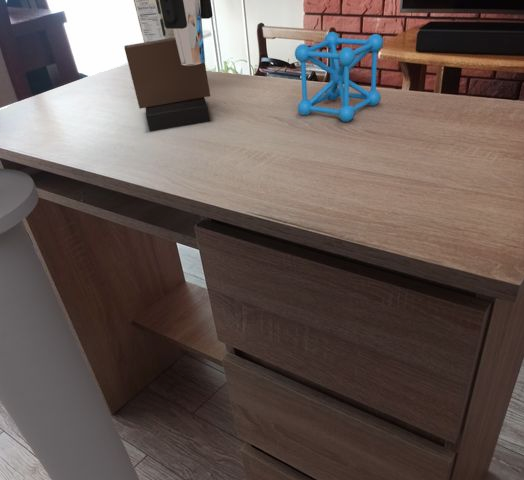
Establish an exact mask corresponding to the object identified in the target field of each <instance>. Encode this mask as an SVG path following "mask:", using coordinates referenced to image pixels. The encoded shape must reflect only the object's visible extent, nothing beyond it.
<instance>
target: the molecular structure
mask: <svg viewBox="0 0 524 480" xmlns="http://www.w3.org/2000/svg"><path fill="white" fill-rule="evenodd" d="M383 44H384V40H383V37H382V35H380V34H379V33H374V34H372V35H370V36H369V37H368V38H367V39H359V38H358V39H357V38H343V37H339V34H338V33H337V32H335V31H330V32H328V33H326V35H325V37H324V39H323V41H321V42H319V43H316V44H314V45H312V46H309V45H307V44H305V43H301V44H299V45H298V46H296V48H295V50H294V57H295V59H296V60H297V62H299V63H300V76H301V77H300V78H301V79H300V80H301V97H302V100H301V101H299V103H298V105H297V111H298V114H300V115H301V116H304V117H305V116H308V115H310V114H311V113H312V112H314V113H323V114H327V115H335V116H338V118H339V119H340V121H341V122H344V123H349V122H351V121H352V120H353V119H354V116H355V112H357V111H358V110H360V109H362V108H363V107H365V106H367V105H368V106H370V107H376V106H377V105H378V104H379V103H380V101H381V98H382V97H381V96H382V95H381V93H380V92H379V90H377V66H378V51H380V50H381V49H382V48H383ZM339 45H353V46H354V45H355V46H356V45H357V46H360V47H357V48H355V49H353V48H351V47H349V46H346V47H343V48H341V49H340V50H339V52H337V47H338V46H339ZM324 47H326V48H327V49H329V51H318V50H320V49H322V48H324ZM370 52H371V54H372V55H371V77H370V90H369V91H368V90H366V89H365V88H363V87H361V86H360V85H359V84H357V83H355V82H354V81H352V80H350V70H352V69H353V68H354V67H355V66H356V65H357V64H358V63H359V62H360V61H361V60H362V59H363V58H364V57H366V56H367V55H368V54H369V53H370ZM318 58H319V59H321V58H323V59H329V65H327V64H325V63H324V62H322V61H321V60H319V59H318ZM307 61H309V62H310V63H312V64H314V65H315V66H317V68H320V69H322V70H323V71H325V72H326V73H328V74H329V81H328V82H327V83H326V84H325V85H324V86H323V87H322V88H321V89H320V90H319V91H317V93H315V95H314V96H312V97H311V98H310V99H308V89H307V88H308V87H307V65H306V62H307ZM350 88H351V89H353V90H355V91H356V92H358V93H356V92H350ZM338 98H340V101H341V107H340V108H339V109H337V108H329V107H323V106H317V105H318V104H320V103H322V102H323V101H325V100H328V101H330V102H331V101H332V102H333V101H336V100H337V99H338ZM350 99H358V100H362V101H361V102H359V103H357V104H356V105H353V106H351V105H350Z"/></svg>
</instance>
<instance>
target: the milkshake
mask: <svg viewBox="0 0 524 480" xmlns="http://www.w3.org/2000/svg"><path fill="white" fill-rule="evenodd" d="M183 2H184V8H185V14H186V20H187V27H186V28H183V29H173V31H174V35H175V39H176V43H177V47H178V52H179V56H180V60H181V64H182V65H186V66H189V65H197V64H201V63H203V62H205V63H206V55H205V44H204V32H203V19H202V18H201V0H183Z"/></svg>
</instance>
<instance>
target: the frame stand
mask: <svg viewBox="0 0 524 480" xmlns="http://www.w3.org/2000/svg"><path fill="white" fill-rule="evenodd" d="M205 98H206V97H204V98H198V99H192V100H186V101H181V102H175V103H169V104H163V105H157V106H152V107H146V108H145V117H146V121H147V127H148V130H149V132H153V131H154V132H155V131H160V130H166V129H171V128H172V129H173V128H177V127H183V126H189V125H194V124H200V123H206V122H210V113H209V108H208V103H207V101H206V99H205Z"/></svg>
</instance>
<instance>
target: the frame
mask: <svg viewBox="0 0 524 480" xmlns="http://www.w3.org/2000/svg"><path fill="white" fill-rule="evenodd" d="M123 49H124V52H125V56H126V61H127V64H128V68H129V72H130V76H131V80H132V85H133V88H134V92H135V96H136V100H137V104H138V109H146V107H152V106H157V105H163V104H169V103H175V102H181V101H186V100H192V99H198V98H209V97H211V92H210V91H211V90H210V85H209V78H208V73H207V68H206V67H207V66H206V61H205V62H203V63H201V64H197V65H189V66H186V65H182V64H181V60H180V56H179V52H178V47H177V43H176V39H175V38H169V39H163V40H157V41H150V42H144V41H143V42H138V43H132V44H127V45H124V48H123Z"/></svg>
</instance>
